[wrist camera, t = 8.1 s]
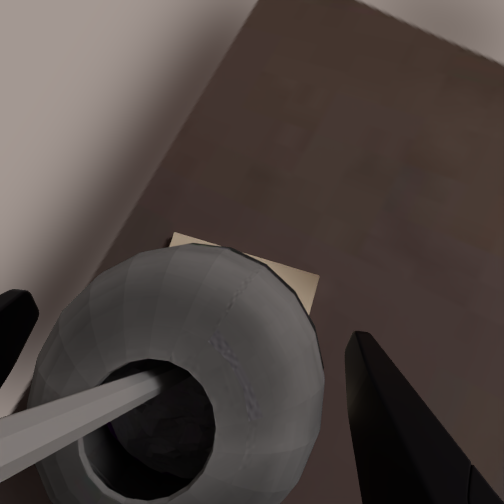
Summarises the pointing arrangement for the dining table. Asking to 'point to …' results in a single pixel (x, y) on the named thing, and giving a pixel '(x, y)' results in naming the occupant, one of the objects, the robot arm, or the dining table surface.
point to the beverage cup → (173, 386)
